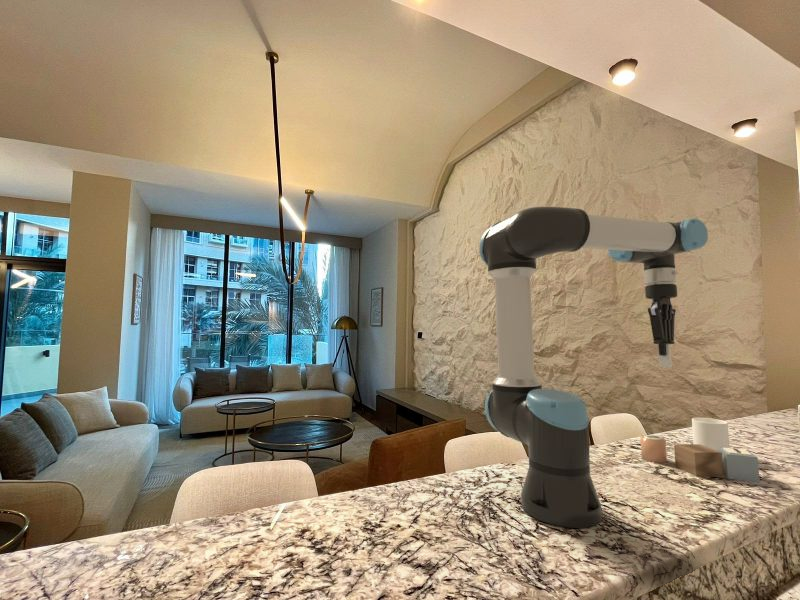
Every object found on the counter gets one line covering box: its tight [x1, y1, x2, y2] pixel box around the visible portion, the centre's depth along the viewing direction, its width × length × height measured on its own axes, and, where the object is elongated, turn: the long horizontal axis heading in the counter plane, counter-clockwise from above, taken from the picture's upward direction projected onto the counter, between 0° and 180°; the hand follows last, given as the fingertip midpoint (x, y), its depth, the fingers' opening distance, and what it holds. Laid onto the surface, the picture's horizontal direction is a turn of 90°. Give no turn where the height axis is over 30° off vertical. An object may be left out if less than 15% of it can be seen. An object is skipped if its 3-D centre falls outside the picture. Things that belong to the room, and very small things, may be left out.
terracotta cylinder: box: [640, 434, 668, 464], centre depth 108 cm, size 6×6×6 cm
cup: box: [691, 417, 731, 451], centre depth 112 cm, size 8×12×10 cm
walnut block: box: [673, 443, 724, 478], centre depth 99 cm, size 7×7×6 cm
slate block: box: [718, 447, 761, 483], centre depth 95 cm, size 6×6×6 cm
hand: (665, 367), depth 106 cm, fingers closed
